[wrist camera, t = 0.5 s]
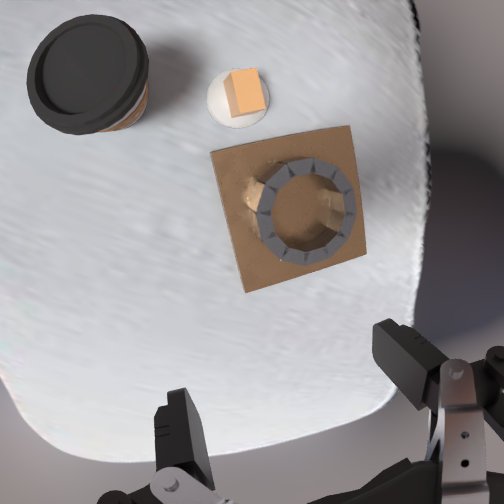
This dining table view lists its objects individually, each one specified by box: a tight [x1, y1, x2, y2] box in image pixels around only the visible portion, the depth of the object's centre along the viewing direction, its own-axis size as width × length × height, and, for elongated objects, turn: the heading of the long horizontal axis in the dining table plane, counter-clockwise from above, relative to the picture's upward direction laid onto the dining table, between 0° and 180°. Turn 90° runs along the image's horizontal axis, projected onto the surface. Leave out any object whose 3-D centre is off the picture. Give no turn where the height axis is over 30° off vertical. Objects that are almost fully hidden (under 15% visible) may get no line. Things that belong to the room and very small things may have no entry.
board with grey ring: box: [210, 126, 367, 293], centre depth 35 cm, size 16×16×4 cm
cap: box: [206, 68, 269, 128], centre depth 29 cm, size 6×6×6 cm
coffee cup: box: [27, 14, 149, 135], centre depth 21 cm, size 8×8×15 cm
